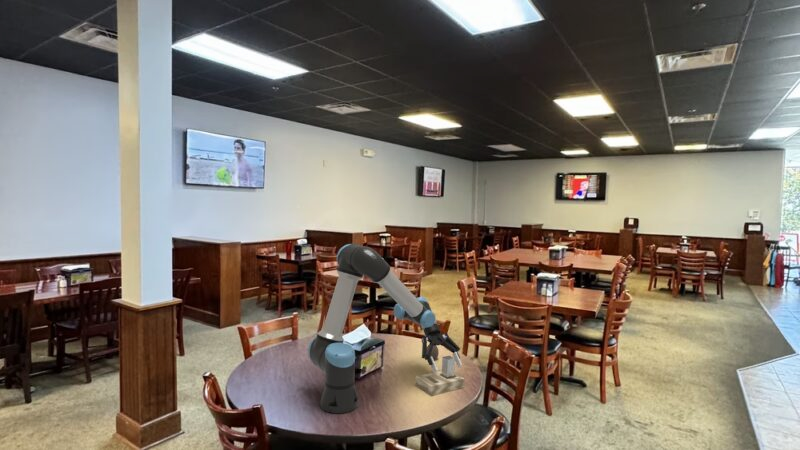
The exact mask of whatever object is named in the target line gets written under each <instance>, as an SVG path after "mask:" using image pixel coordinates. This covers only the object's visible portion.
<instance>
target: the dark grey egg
mask: <svg viewBox="0 0 800 450" xmlns="http://www.w3.org/2000/svg"><path fill="white" fill-rule="evenodd" d="M429 344H430V343H429V342H428V344H427V352H428V348H429ZM439 354H440V353H439V347H438V345H436V346H433V349H432V352H431V355H430V357H433V360H434V361H435V360H437V358H438V357H439ZM426 355H427V353H426Z"/></svg>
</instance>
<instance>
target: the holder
mask: <svg viewBox="0 0 800 450" xmlns="http://www.w3.org/2000/svg"><path fill="white" fill-rule="evenodd" d="M415 386H416V387H418V388H419V389H420V390H422V391H423V392H425V393H426V394H427V395H429V396H430V397H432V396H436V395H440V394H445V393H447V392H452V391H457V390H459V389H463V388H465V378H464V377H462V376H461V375H459V374H457V373H456V372H454V378H450V379H446V378H444V377H442V370H437V371H436V372H435V373H434V372H433V371H432V372H430V373H425V374H421V375H416V376H415Z"/></svg>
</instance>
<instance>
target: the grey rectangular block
mask: <svg viewBox="0 0 800 450" xmlns="http://www.w3.org/2000/svg"><path fill="white" fill-rule="evenodd" d="M441 361H442V362H441V371H442V377H444V378H446V379H450V378H454V373H455V368H456V367H455V365H456V362H455V358H454V357H453V356H451V355H446V356H442V359H441Z"/></svg>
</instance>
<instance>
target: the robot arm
mask: <svg viewBox="0 0 800 450" xmlns="http://www.w3.org/2000/svg"><path fill="white" fill-rule="evenodd" d="M336 263H337V264H338V266H337V269H336V273H337V274H338V278H337V281H336V284H335V288H334V290H333V293H332V294H333V295H332V297H331V300H330V303H329V307H328V310H327V314H326V317H325V320H324V323H323V326H322V329H321V330H320V331H318V332H317V333H316V334H317V335H316V336H315V337H314V339H312V340H311V341H310V343H309V345H308V348H307V354H308V359H310V361H311V362H312V364H313V365H315V366H316V367H318V368H319V369H320V370H321V371H322V372H324V374H325V375H324V388H323V391H322V394H321V397H320V401H319V402H320V403H319V404H320V409H321V410H323V411H325V412H326V411H327V413H329V412H331V414H346V413H350V412H352V411H354V410H356V409H357V408H358V406H359V396H358V393H357V390H356V385H355V377H356V375H355V374H356V373H355V372H356V371H355V359H356V352H355V348H354V347H353V346H352V345H350V344H348V343H344V340H345V339H344V338H343V332H344V328H345V325H346V322H347V319H348V316H349V313H350V309H351V304H352V301H353V299H354V295H355V291H356V288H357V285H358V283H359V281H360V280H362V279H363V278H364V276H365V277H367V278H369V279H370V280H371V281H372V282H373V283H375V284H376V283H377V284H378V285H379V286H380V287H381V288H382V289H383V290H384V291H385V292H386V293H387V294H388V295H389V296H390V297H391V298H392V299H393V300H394V301H395V302H396V304H395V305H394V308H393V315H394V317H395V318H396V319H397V320H407V321H410V322H412V323H414V324H416V325H420V326H421V329H422V331H423V333H424V335H425V336H423V337H422V338H421V343H422V345H421V346H422V347H421V358H422V359H425V361H427V363H428V365H429V366H430V367H431V369H432V370H431V371H432V373H433V372H434V373H435V372H437V371H439V369H438V367H437V365H436V363H435V360H433V357H430V355H431V352H432V349H433V346H441V347H444V348H445V349H447V350H449V352H451V353H452V357H453V358H455V365H456V366H457V368H461V367H462V365H463V364H462V362H461V356H460V355H459V351H460V350H461V348H460V347H459V345H457V343H456V342H454V340H453V339H452V338H451V337H450V336H449V334H448V333H447V332H445V333H444V334H442V332H441V329H440V326H439V325H438V322H437V319H436V314H435V313H434V312H433V310H432V308H431V306H430V303H429V302H428V300H427V298H426V296H419V297H416V296H415V295H414V294H413V293H412V291H410V289H408V287H407V286H406V285H405V284H404V283H403V282H402V280H400V279H399V278H398V276H396V274H395V273H394V272H393V271H392V270H391V266H390V264H389V263H388V262H387V261H386V260H385V259H384V258H383V257H382V256H381V255H380V254H379V253H378V252H377V251H376V250H374V249H373V248H372V247H369V246H367V245H366V246H364V245H361V244H356V243H349V244H345V245H344V246H342V247H341V248H340V249H339V250H338V252H337V254H336ZM429 343H430V344H429ZM428 345H429V348H428V352H427V346H428ZM426 353H427V355H426Z"/></svg>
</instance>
